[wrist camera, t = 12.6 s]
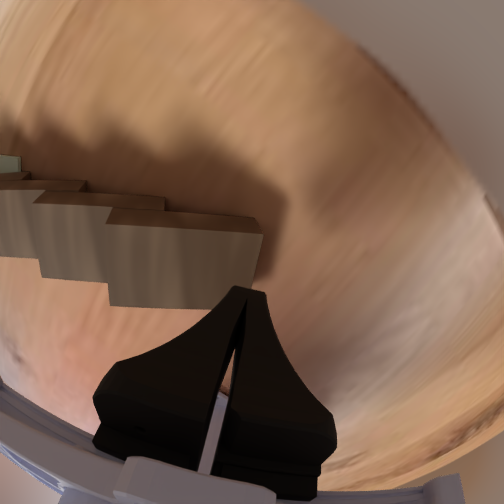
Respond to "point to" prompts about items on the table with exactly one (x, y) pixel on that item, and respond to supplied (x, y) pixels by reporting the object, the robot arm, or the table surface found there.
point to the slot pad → (10, 164)
